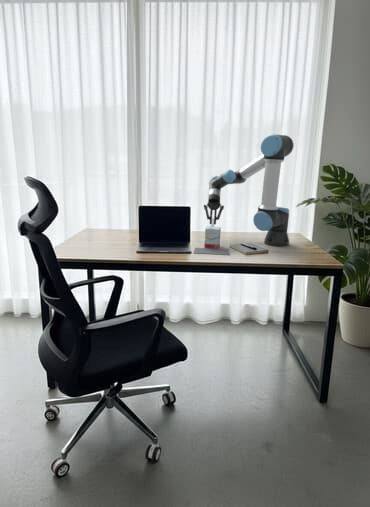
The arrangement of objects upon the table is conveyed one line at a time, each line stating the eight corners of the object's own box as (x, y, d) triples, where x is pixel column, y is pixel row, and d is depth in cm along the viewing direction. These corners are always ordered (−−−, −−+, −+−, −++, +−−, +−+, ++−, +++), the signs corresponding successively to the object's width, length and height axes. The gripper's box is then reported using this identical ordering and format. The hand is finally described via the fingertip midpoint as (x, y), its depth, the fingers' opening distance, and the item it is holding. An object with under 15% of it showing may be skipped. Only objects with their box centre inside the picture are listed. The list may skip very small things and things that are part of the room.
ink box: (218, 249, 216) (219, 229, 213) (204, 248, 217) (204, 228, 214) (220, 245, 224) (221, 226, 221) (206, 244, 225) (206, 225, 222)
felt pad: (229, 249, 215) (229, 249, 215) (229, 255, 203) (229, 254, 203) (195, 248, 217) (195, 247, 217) (193, 253, 205) (193, 252, 205)
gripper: (224, 201, 238) (223, 232, 227) (204, 200, 239) (201, 231, 228) (224, 194, 232) (223, 225, 220) (204, 193, 233) (201, 224, 221)
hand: (212, 228), depth 224 cm, fingers closed
